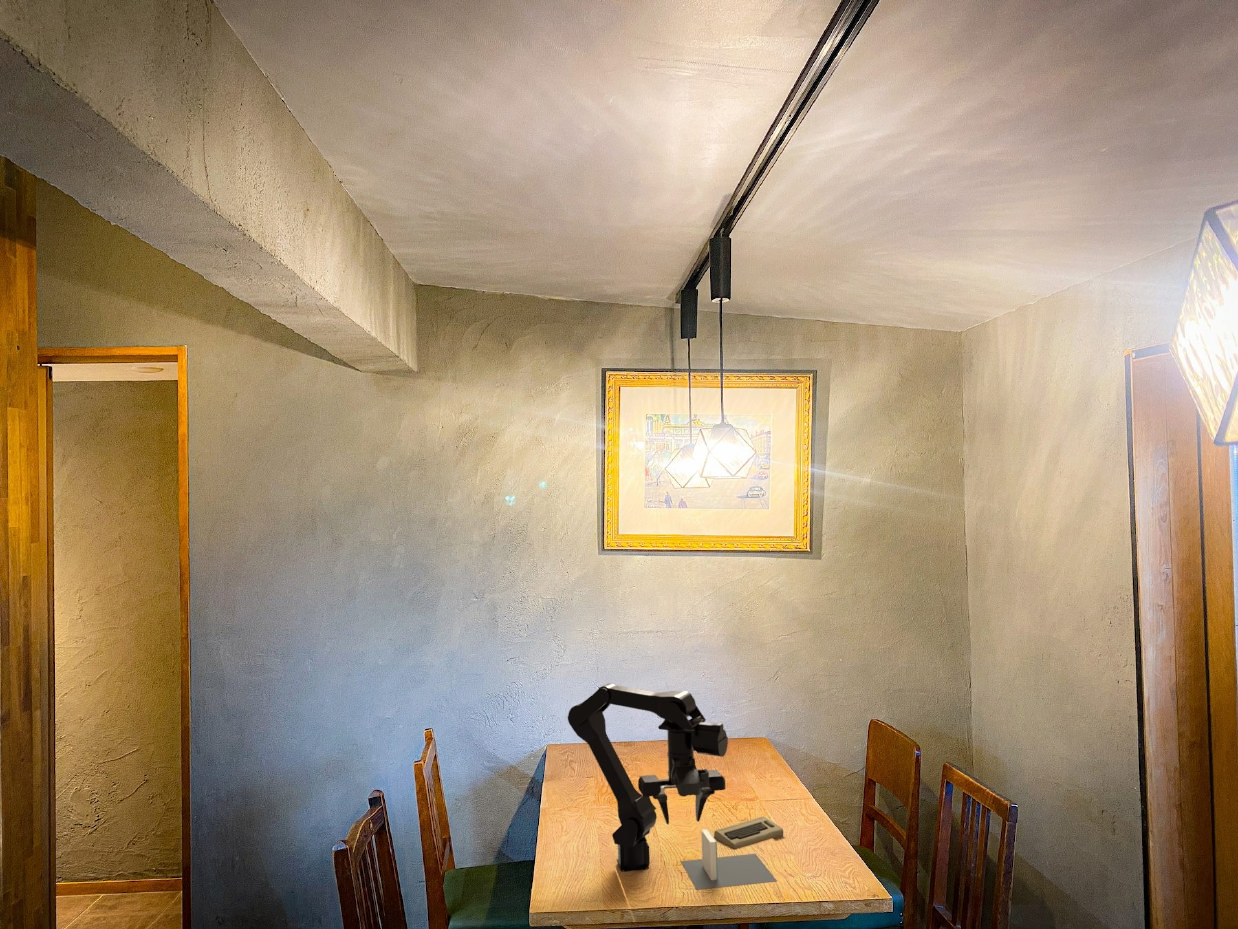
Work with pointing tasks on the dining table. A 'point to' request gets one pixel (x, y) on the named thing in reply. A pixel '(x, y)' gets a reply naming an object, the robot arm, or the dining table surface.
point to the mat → (729, 872)
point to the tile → (709, 854)
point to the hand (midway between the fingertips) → (682, 822)
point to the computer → (748, 832)
